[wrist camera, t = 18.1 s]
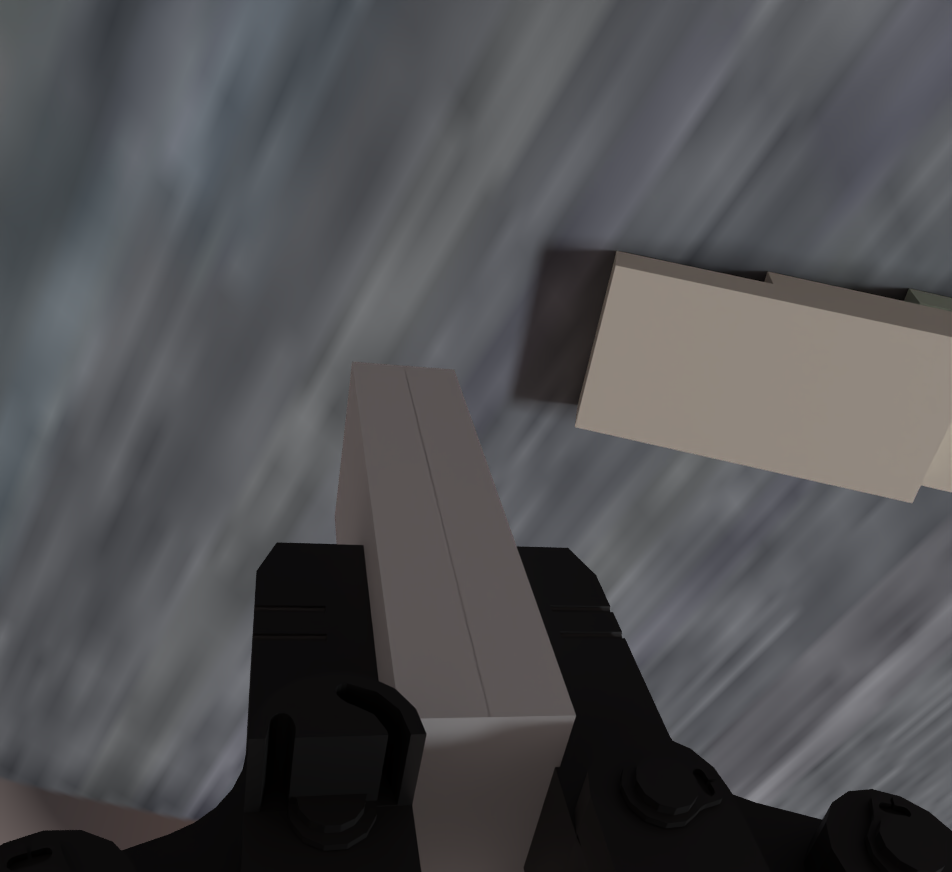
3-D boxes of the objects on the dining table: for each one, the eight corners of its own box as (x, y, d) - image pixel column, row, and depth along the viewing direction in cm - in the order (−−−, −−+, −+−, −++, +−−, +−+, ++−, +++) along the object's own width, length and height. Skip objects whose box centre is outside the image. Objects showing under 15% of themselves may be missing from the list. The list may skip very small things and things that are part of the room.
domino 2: (721, 438, 27) (1048, 515, 26) (774, 286, 25) (1134, 365, 24) (718, 417, 29) (1028, 489, 28) (767, 271, 26) (1107, 345, 26)
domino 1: (574, 426, 26) (912, 503, 25) (615, 265, 24) (987, 344, 23) (577, 405, 27) (897, 476, 27) (616, 250, 25) (967, 325, 24)
